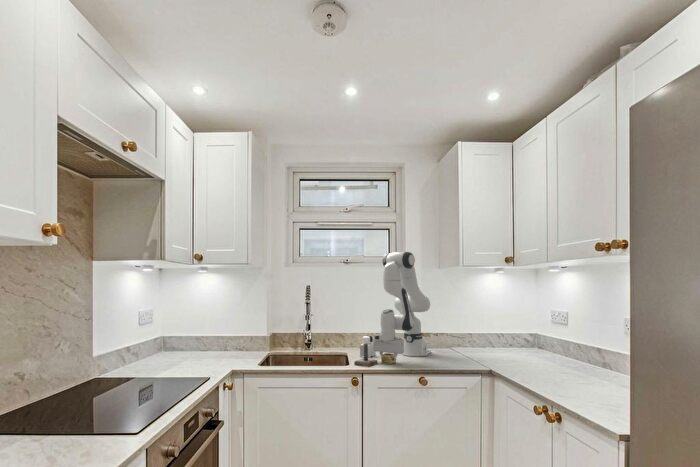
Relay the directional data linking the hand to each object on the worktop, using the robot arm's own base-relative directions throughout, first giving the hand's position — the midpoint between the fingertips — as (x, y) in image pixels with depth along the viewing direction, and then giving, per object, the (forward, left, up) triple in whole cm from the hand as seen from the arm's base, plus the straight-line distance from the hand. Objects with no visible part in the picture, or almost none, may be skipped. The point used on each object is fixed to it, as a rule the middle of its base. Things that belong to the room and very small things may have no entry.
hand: (388, 360), depth 248 cm
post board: (+10, -10, -2) cm, 14 cm away
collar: (0, 0, -2) cm, 2 cm away
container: (-12, -22, -2) cm, 25 cm away
